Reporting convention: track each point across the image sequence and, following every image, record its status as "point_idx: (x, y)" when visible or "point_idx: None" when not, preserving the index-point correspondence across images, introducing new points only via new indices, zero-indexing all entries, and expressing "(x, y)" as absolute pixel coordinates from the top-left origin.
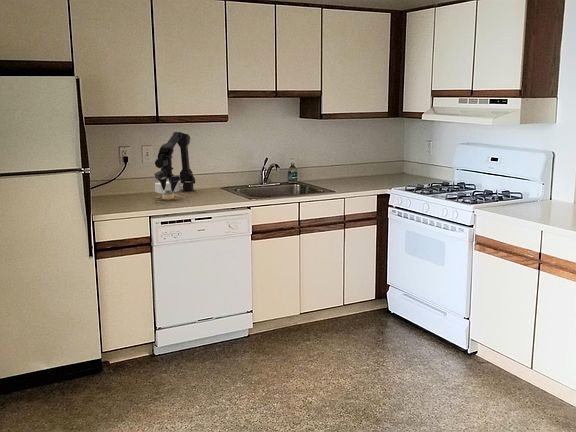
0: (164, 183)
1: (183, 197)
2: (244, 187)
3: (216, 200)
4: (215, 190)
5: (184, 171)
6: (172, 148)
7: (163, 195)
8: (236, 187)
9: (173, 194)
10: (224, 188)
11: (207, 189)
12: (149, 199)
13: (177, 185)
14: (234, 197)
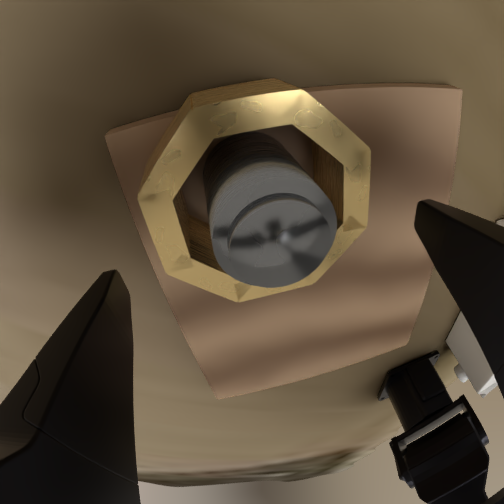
0: (495, 318)
1: (199, 332)
2: (298, 477)
3: None
4: (330, 443)
5: (461, 487)
6: None
7: (243, 94)
8: (318, 469)
9: (162, 264)
10: (336, 454)
11: (375, 425)
12: (437, 7)
13: (473, 367)
14: None
